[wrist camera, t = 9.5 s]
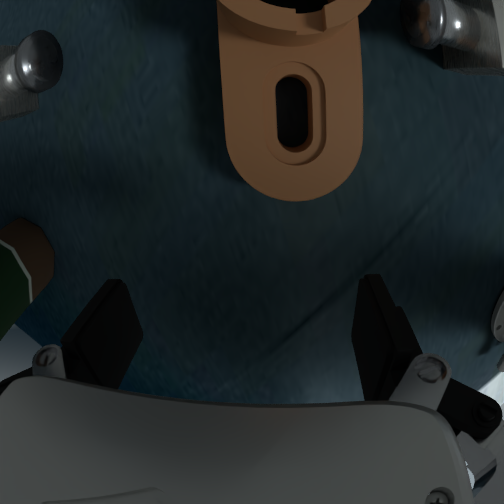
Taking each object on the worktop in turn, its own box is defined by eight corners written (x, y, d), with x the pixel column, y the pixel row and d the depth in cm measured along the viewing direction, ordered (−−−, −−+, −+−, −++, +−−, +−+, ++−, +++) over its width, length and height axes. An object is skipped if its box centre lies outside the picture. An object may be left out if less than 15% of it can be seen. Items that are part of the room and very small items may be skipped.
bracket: (220, -39, 13) (201, -85, 7) (338, -39, 12) (364, -82, 6) (235, 190, 21) (222, 230, 15) (349, 188, 21) (381, 226, 15)
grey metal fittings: (466, 74, 15) (526, 77, 9) (21, 116, 18) (-36, 132, 12) (458, 9, 12) (512, -6, 6) (17, 57, 15) (-39, 60, 9)
